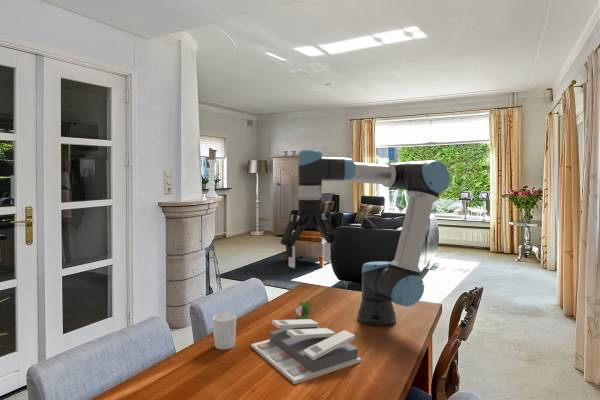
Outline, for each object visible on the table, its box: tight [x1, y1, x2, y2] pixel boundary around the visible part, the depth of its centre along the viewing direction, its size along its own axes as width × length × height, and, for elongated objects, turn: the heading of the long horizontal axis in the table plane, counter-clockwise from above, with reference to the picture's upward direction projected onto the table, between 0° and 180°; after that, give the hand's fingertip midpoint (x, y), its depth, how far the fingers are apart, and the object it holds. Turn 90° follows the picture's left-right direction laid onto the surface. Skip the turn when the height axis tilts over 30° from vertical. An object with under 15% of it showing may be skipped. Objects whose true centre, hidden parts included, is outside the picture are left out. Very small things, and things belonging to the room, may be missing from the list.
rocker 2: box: [286, 327, 337, 339], centre depth 127 cm, size 16×5×1 cm, turn 123°
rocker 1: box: [271, 318, 319, 330], centre depth 136 cm, size 16×5×1 cm, turn 123°
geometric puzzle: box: [294, 301, 315, 320], centre depth 157 cm, size 7×7×8 cm
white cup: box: [212, 312, 237, 351], centre depth 133 cm, size 8×8×10 cm
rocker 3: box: [303, 329, 356, 360], centre depth 119 cm, size 16×5×1 cm, turn 122°
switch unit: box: [250, 325, 362, 385], centre depth 126 cm, size 24×28×4 cm
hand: (309, 264), depth 126 cm, fingers open, 13 cm apart
